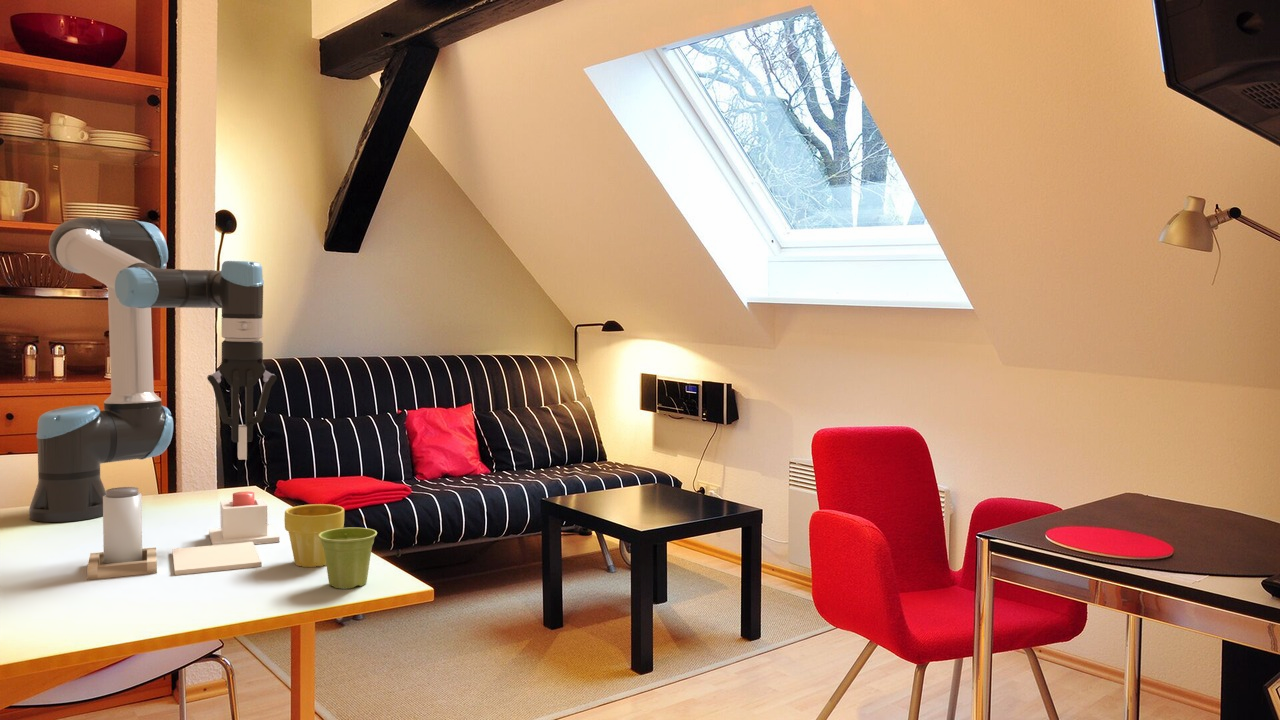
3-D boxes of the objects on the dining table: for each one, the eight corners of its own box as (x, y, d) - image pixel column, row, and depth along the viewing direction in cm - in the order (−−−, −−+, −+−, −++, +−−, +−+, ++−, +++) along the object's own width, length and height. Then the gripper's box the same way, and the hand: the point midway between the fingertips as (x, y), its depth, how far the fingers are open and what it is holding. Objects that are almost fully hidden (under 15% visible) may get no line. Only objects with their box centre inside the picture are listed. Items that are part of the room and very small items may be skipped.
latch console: (209, 534, 197) (208, 500, 197) (272, 528, 203) (272, 495, 202) (212, 548, 187) (212, 511, 186) (279, 542, 192) (279, 506, 192)
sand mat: (172, 553, 182) (172, 548, 182) (252, 545, 189) (252, 541, 189) (174, 575, 168) (174, 570, 168) (261, 566, 175) (261, 562, 174)
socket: (90, 564, 174) (90, 553, 174) (156, 558, 179) (156, 547, 179) (87, 579, 165) (87, 568, 165) (156, 572, 169) (156, 561, 169)
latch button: (232, 517, 195) (231, 492, 195) (253, 515, 197) (253, 490, 197) (233, 521, 192) (233, 496, 191) (255, 519, 193) (255, 494, 193)
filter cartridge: (104, 566, 173) (103, 487, 172) (142, 562, 176) (141, 485, 175) (103, 574, 168) (102, 493, 167) (142, 570, 170) (141, 491, 170)
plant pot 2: (326, 576, 169) (325, 526, 169) (381, 575, 170) (381, 526, 169) (312, 592, 160) (312, 540, 159) (371, 592, 161) (371, 540, 160)
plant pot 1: (356, 558, 181) (356, 506, 180) (320, 572, 171) (320, 517, 171) (309, 552, 184) (309, 501, 184) (272, 566, 175) (271, 512, 174)
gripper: (207, 340, 186) (207, 463, 188) (279, 341, 192) (279, 459, 193) (205, 338, 193) (205, 456, 194) (275, 338, 198) (274, 453, 200)
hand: (242, 458), depth 194 cm, fingers closed
